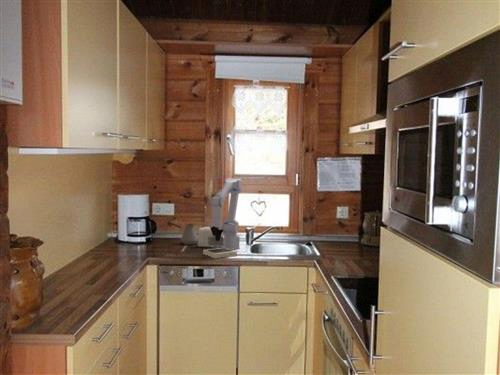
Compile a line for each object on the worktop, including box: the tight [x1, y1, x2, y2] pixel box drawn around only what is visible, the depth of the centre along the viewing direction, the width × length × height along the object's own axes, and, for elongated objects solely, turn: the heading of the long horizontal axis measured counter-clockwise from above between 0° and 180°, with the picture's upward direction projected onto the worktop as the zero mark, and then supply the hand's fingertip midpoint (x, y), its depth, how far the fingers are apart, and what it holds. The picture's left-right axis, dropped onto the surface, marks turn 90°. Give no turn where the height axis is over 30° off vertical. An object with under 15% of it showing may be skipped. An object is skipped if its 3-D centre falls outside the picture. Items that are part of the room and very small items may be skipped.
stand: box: [202, 247, 238, 259], centre depth 269 cm, size 15×13×3 cm
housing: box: [208, 235, 224, 246], centre depth 270 cm, size 4×8×5 cm, turn 112°
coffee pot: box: [168, 222, 198, 246], centre depth 297 cm, size 21×12×15 cm, turn 132°
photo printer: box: [197, 226, 215, 248], centre depth 293 cm, size 10×4×12 cm, turn 98°
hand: (216, 239), depth 270 cm, fingers closed on housing, 4 cm apart
